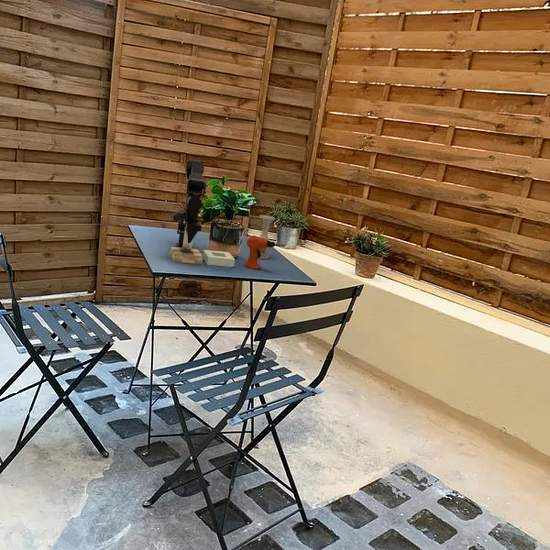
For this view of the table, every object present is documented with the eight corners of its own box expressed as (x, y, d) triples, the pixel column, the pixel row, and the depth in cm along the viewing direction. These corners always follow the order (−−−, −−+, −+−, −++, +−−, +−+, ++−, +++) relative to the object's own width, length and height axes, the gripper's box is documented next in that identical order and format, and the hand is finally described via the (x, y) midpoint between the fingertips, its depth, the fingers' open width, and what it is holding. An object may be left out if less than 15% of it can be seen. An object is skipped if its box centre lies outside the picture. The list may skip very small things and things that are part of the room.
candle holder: (248, 254, 269) (255, 213, 264) (264, 254, 273) (271, 215, 268) (256, 259, 262) (263, 217, 256) (272, 259, 266) (279, 219, 261)
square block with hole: (202, 257, 247) (203, 249, 246) (227, 259, 251) (228, 252, 250) (207, 264, 236) (208, 256, 235) (233, 267, 240) (235, 259, 239)
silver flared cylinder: (181, 251, 239) (184, 227, 236) (190, 252, 240) (193, 228, 237) (182, 253, 235) (186, 229, 232) (191, 254, 236) (195, 230, 233)
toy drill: (281, 273, 237) (283, 239, 234) (242, 268, 244) (243, 235, 241) (285, 272, 242) (287, 238, 239) (247, 266, 249) (248, 233, 245)
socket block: (169, 254, 242) (170, 246, 241) (196, 256, 246) (197, 249, 245) (173, 261, 231) (174, 253, 230) (201, 264, 235) (202, 256, 234)
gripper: (170, 200, 238) (166, 235, 242) (177, 208, 221) (172, 245, 225) (196, 203, 242) (191, 237, 246) (204, 211, 225) (199, 248, 229)
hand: (188, 241), depth 236 cm, fingers closed on silver flared cylinder, 4 cm apart
